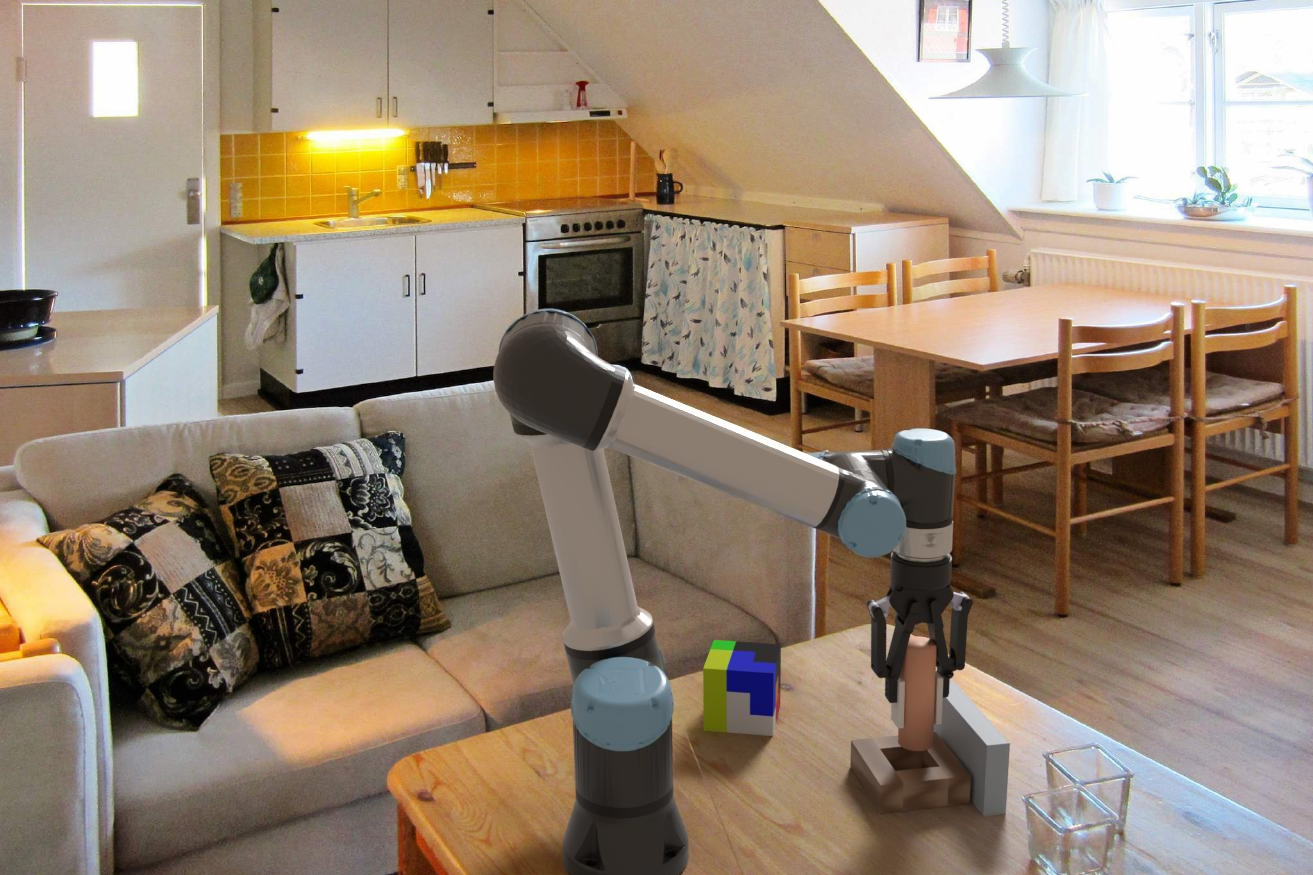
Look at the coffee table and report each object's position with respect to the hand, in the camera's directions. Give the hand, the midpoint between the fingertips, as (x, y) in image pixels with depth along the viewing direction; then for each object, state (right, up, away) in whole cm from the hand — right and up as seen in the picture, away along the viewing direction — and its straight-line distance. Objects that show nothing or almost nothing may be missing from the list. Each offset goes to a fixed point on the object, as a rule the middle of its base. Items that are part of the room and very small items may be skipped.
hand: (916, 721), depth 168 cm
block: (-1, -9, +2) cm, 9 cm away
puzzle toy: (-21, -5, +22) cm, 31 cm away
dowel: (0, -3, +1) cm, 3 cm away
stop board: (+7, -9, +4) cm, 12 cm away
